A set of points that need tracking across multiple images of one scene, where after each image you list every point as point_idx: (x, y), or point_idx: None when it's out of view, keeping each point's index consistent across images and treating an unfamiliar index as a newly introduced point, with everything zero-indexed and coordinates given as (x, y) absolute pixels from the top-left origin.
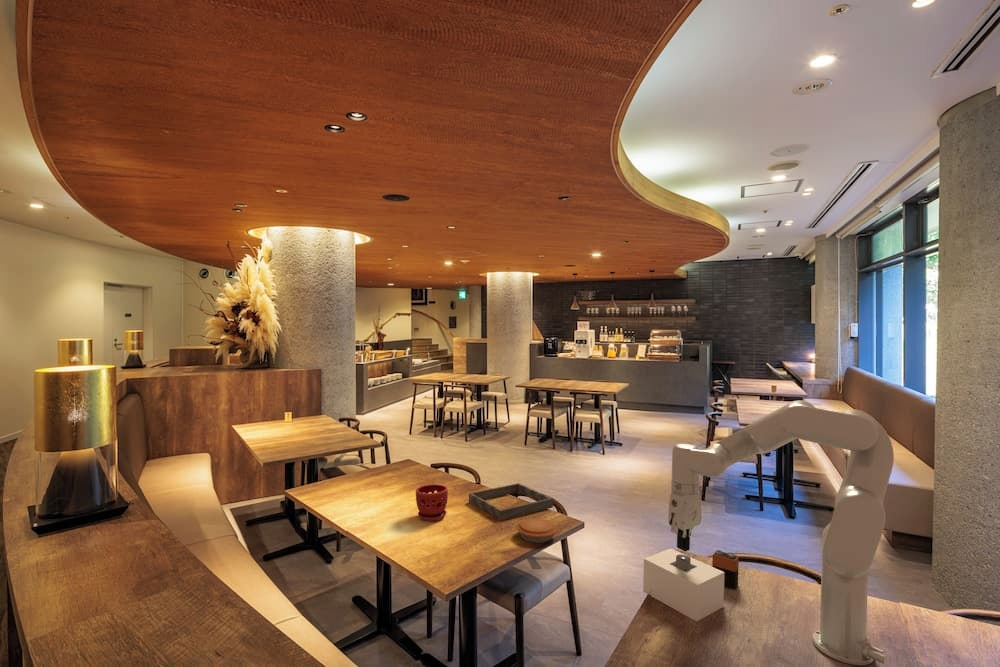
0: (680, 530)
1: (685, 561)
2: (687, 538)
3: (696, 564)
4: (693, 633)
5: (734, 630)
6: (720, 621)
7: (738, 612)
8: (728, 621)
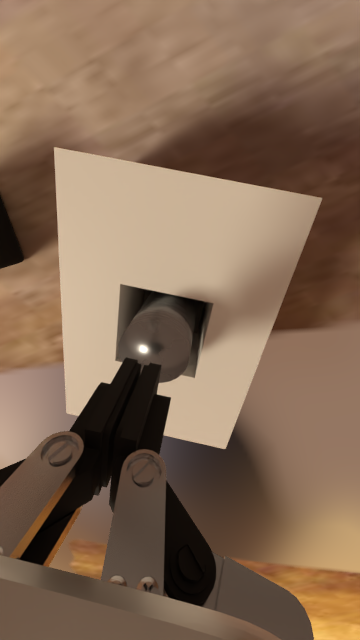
0: (195, 586)
1: (181, 332)
2: (126, 433)
3: (102, 295)
4: (354, 176)
5: (241, 63)
6: (217, 136)
7: (113, 111)
8: (197, 113)
